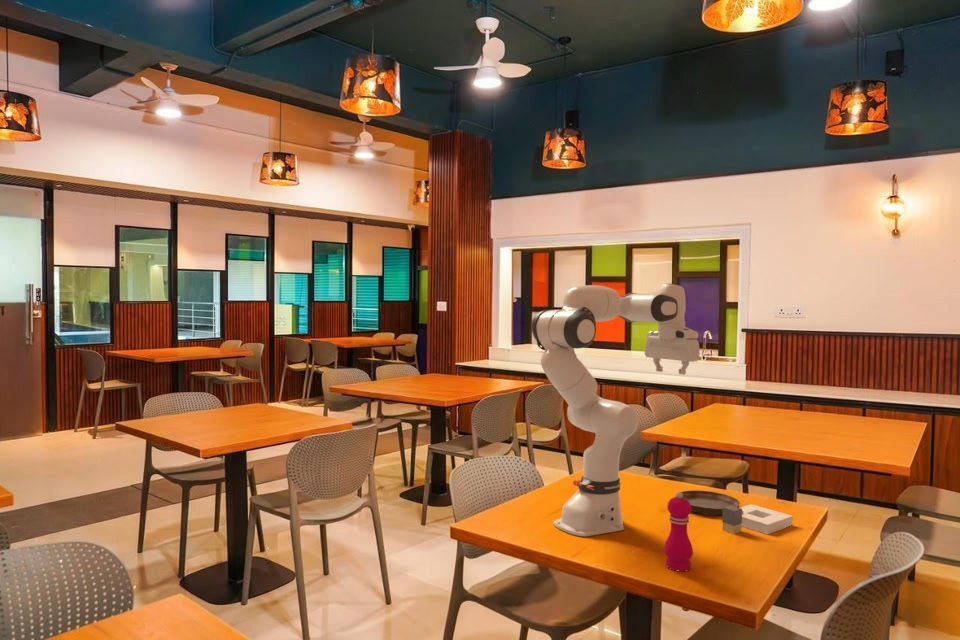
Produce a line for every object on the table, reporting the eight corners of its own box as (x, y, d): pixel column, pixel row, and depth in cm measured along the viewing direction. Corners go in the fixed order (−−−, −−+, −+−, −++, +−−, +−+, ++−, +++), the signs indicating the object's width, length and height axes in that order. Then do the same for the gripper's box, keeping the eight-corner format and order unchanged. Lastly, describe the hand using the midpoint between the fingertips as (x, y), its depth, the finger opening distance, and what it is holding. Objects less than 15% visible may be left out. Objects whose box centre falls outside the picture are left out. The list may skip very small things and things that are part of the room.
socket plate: (767, 534, 195) (767, 522, 195) (726, 521, 206) (726, 509, 206) (792, 525, 203) (792, 513, 203) (751, 513, 214) (751, 501, 214)
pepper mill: (686, 561, 174) (688, 487, 173) (696, 572, 167) (698, 495, 166) (660, 561, 174) (661, 487, 173) (669, 572, 167) (670, 495, 166)
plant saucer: (701, 495, 234) (702, 486, 234) (752, 511, 217) (753, 501, 217) (662, 504, 223) (662, 495, 223) (712, 522, 206) (713, 512, 206)
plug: (733, 534, 195) (734, 511, 195) (722, 530, 198) (722, 507, 198) (741, 531, 197) (742, 508, 197) (729, 527, 201) (730, 505, 200)
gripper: (640, 330, 225) (640, 370, 225) (690, 333, 208) (689, 376, 209) (652, 330, 229) (652, 369, 229) (702, 333, 212) (701, 375, 212)
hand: (670, 372), depth 219 cm, fingers open, 8 cm apart
